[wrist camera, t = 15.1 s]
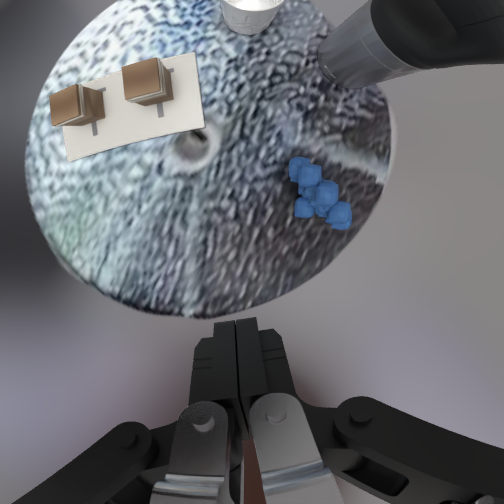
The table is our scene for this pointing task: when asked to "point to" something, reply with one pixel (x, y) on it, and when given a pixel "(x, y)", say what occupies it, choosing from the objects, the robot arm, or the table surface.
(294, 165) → the grapes
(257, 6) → the white cup
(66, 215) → the table surface
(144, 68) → the two band post
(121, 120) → the white rectangular board
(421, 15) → the robot arm
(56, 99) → the one band post
